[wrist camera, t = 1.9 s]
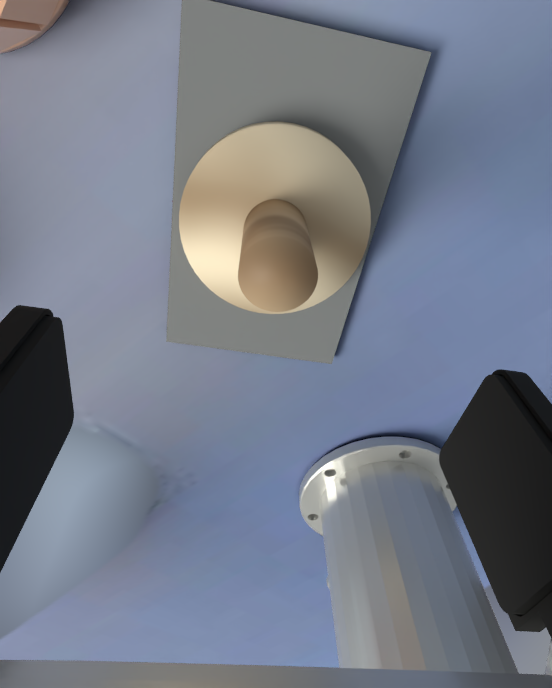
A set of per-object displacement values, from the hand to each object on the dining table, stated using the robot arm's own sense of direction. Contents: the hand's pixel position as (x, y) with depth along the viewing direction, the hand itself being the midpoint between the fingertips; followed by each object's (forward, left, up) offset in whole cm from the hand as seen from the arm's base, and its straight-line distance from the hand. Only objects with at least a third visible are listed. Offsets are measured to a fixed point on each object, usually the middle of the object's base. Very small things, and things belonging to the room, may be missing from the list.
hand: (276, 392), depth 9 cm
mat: (-1, 0, -14) cm, 14 cm away
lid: (-1, 0, -13) cm, 13 cm away
